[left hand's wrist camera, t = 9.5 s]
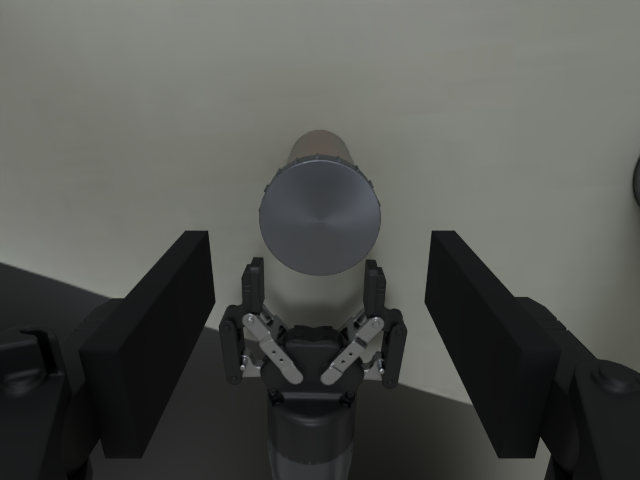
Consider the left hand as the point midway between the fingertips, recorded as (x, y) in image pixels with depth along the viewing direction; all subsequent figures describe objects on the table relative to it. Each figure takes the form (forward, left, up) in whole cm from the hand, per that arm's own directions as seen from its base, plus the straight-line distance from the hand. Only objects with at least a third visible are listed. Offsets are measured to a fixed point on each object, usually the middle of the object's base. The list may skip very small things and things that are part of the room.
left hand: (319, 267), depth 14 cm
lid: (0, 0, -5) cm, 5 cm away
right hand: (+3, -6, -15) cm, 16 cm away
